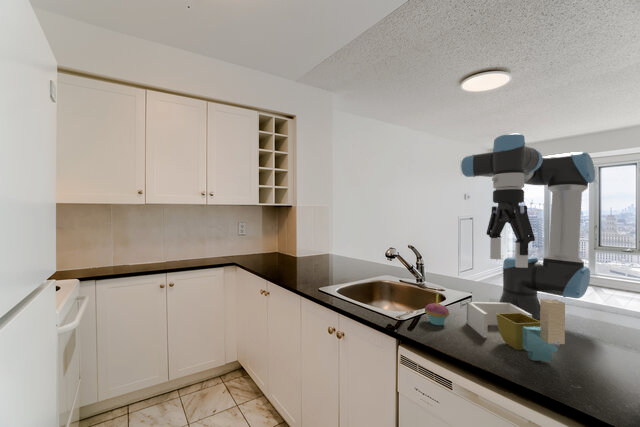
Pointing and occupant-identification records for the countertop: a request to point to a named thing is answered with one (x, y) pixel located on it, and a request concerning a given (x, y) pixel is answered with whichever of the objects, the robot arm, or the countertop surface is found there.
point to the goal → (488, 314)
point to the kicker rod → (546, 331)
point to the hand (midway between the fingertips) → (507, 262)
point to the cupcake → (436, 312)
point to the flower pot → (514, 327)
